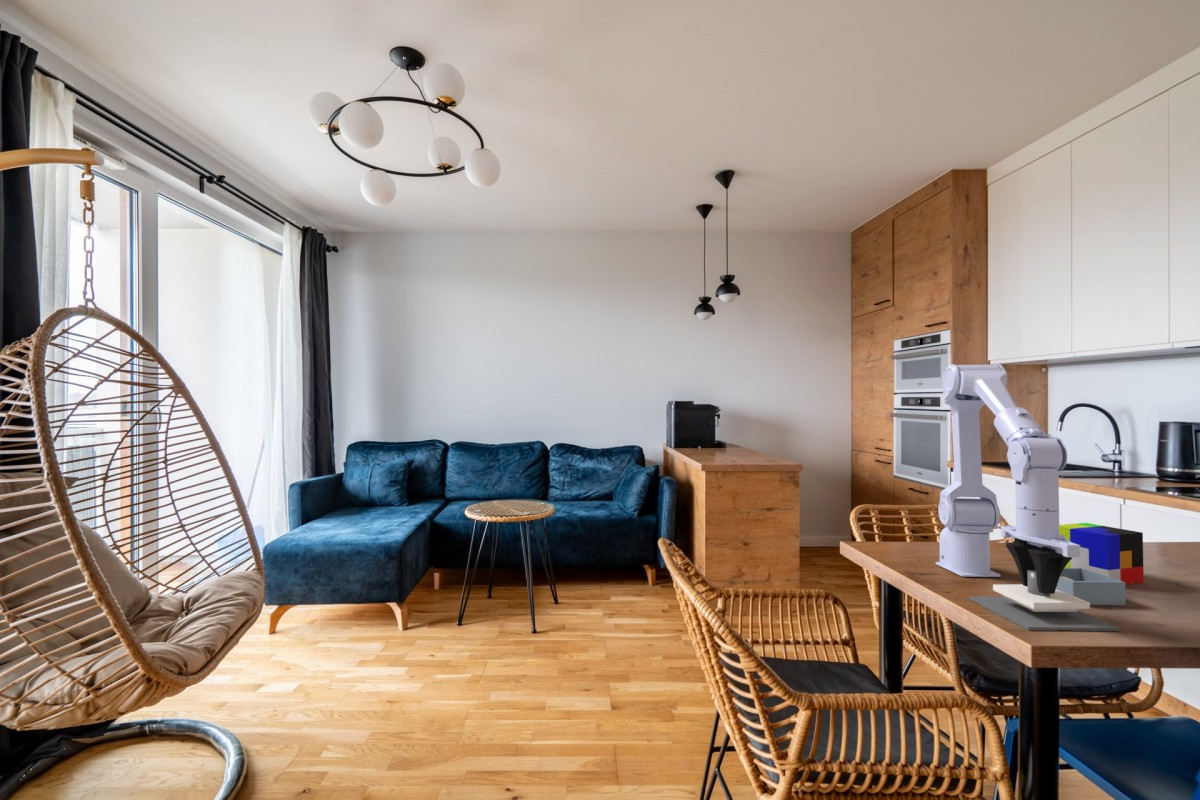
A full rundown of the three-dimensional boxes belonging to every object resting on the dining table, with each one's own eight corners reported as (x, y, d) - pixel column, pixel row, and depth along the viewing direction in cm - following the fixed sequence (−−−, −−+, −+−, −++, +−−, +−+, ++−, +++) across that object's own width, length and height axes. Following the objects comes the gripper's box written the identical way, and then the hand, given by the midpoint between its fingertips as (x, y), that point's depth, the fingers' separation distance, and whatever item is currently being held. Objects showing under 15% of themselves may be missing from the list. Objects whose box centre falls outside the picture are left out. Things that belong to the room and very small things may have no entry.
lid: (993, 594, 96) (992, 564, 96) (1043, 594, 96) (1043, 564, 96) (1033, 614, 87) (1033, 580, 87) (1089, 613, 87) (1089, 580, 87)
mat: (969, 599, 99) (969, 596, 99) (1047, 599, 98) (1047, 597, 98) (1028, 630, 85) (1028, 627, 85) (1120, 631, 84) (1120, 627, 84)
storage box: (1033, 588, 105) (1033, 567, 105) (1081, 588, 105) (1081, 567, 105) (1073, 604, 96) (1073, 582, 96) (1125, 605, 96) (1125, 582, 96)
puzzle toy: (1108, 587, 106) (1107, 535, 106) (1053, 572, 115) (1052, 525, 115) (1143, 582, 108) (1142, 532, 109) (1086, 569, 118) (1085, 522, 118)
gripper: (1099, 516, 84) (1101, 604, 84) (1028, 501, 99) (1029, 576, 99) (1053, 516, 85) (1055, 604, 84) (988, 501, 99) (990, 576, 99)
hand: (1038, 589), depth 92 cm, fingers closed on lid, 3 cm apart
